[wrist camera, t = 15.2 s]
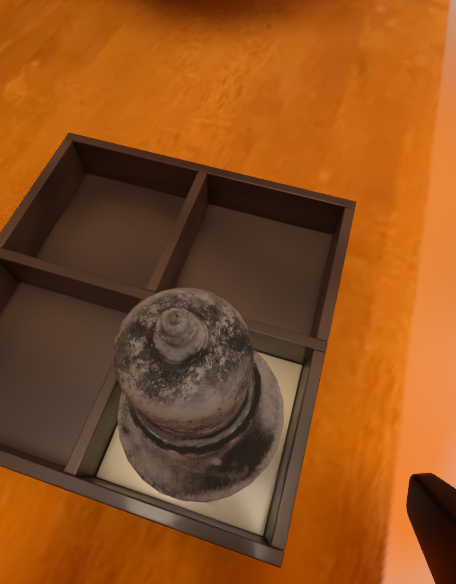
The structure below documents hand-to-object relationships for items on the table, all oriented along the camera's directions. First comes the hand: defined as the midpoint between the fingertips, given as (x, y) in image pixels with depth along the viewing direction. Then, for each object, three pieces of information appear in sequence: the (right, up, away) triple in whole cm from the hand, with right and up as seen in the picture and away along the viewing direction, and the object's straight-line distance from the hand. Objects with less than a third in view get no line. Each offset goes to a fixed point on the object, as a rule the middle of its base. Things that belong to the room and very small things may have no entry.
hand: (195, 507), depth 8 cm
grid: (-3, +3, +12) cm, 13 cm away
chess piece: (0, -1, +9) cm, 9 cm away
